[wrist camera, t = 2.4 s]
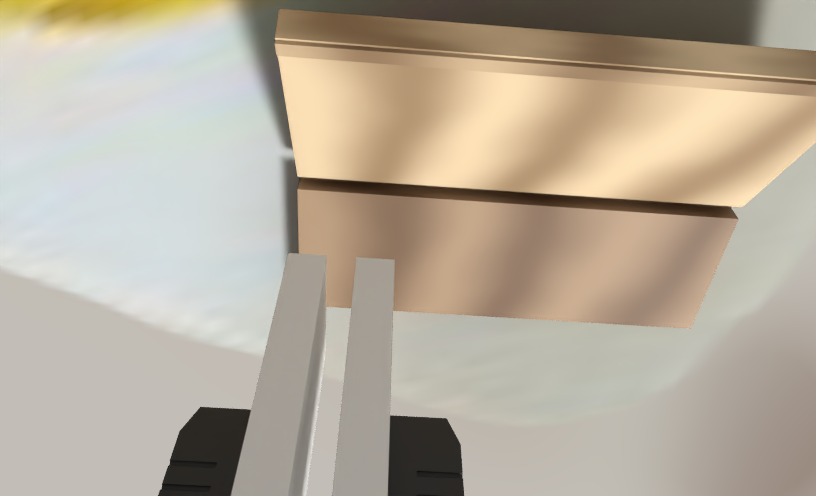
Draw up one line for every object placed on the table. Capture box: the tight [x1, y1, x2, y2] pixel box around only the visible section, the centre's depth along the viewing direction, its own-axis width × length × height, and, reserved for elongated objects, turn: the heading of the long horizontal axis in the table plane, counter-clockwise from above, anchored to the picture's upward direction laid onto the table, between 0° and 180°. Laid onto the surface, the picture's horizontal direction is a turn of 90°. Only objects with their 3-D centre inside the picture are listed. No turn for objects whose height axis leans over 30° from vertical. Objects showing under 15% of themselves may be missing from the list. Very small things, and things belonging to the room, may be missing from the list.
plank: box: [275, 9, 816, 207], centre depth 27 cm, size 20×9×1 cm, turn 86°
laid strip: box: [297, 177, 738, 329], centre depth 33 cm, size 20×8×1 cm, turn 86°
